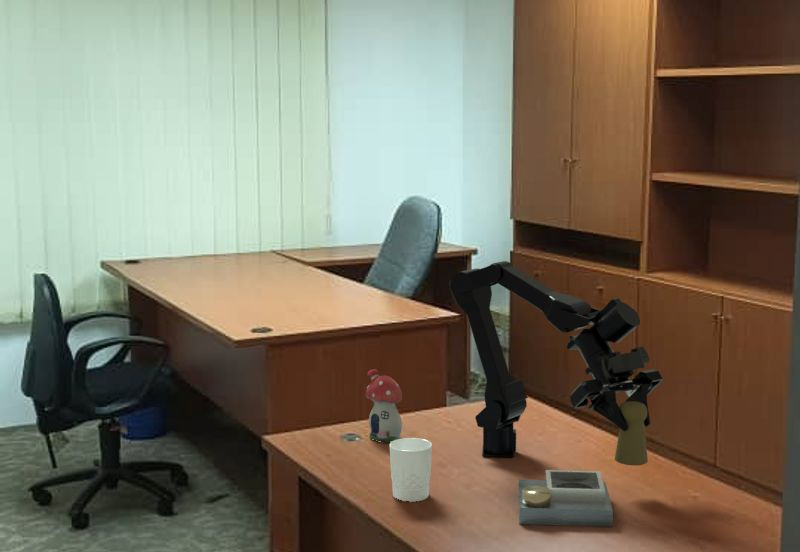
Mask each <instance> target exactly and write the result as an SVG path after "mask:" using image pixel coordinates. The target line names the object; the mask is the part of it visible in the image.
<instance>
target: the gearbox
mask: <svg viewBox="0 0 800 552" xmlns="http://www.w3.org/2000/svg"><path fill="white" fill-rule="evenodd" d="M517 488H518V493H517V495H518V525H535V526H536V525H540V526H541V525H542V526H569V527H570V526H571V527H572V526H573V527H574V526H575V527H599V528H601V527H602V528H607V527H608V528H612V527H613V522H614V521H613V520H614V519H613V515H614V510H613V505H612V501H611V497H610V494H609V490H608V486H607V482H606V481H603V476H602V472H601V471H597V470H594V471H593V470H569V469H568V470H566V469H565V470H564V469H561V470H560V469H559V470H558V469H545V479H520V478H519V479H518V487H517Z"/></svg>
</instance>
